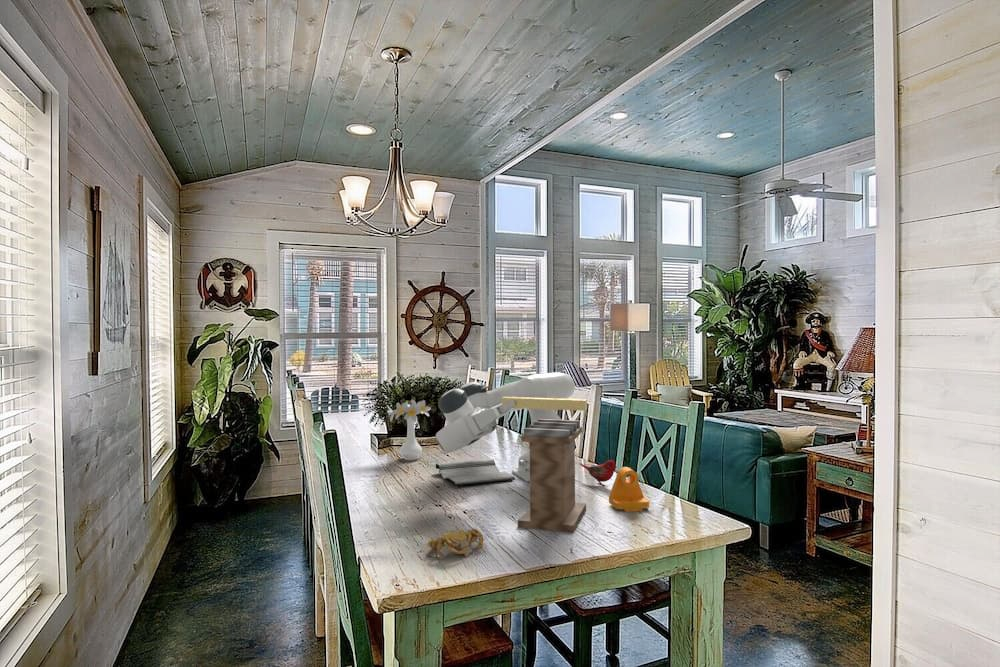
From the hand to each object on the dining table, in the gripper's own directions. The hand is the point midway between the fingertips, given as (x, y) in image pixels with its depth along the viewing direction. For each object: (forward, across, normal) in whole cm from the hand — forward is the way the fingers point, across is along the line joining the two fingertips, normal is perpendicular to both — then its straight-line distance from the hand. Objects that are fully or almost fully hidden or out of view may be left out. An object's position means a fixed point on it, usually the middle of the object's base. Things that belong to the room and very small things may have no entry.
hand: (516, 401), depth 190 cm
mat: (-40, -32, -17) cm, 54 cm away
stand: (-6, +6, -36) cm, 36 cm away
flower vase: (-71, -53, +2) cm, 89 cm away
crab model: (-23, +37, -26) cm, 51 cm away
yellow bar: (+7, 0, -6) cm, 9 cm away
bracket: (+12, -11, -46) cm, 49 cm away
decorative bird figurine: (0, -34, -39) cm, 52 cm away
